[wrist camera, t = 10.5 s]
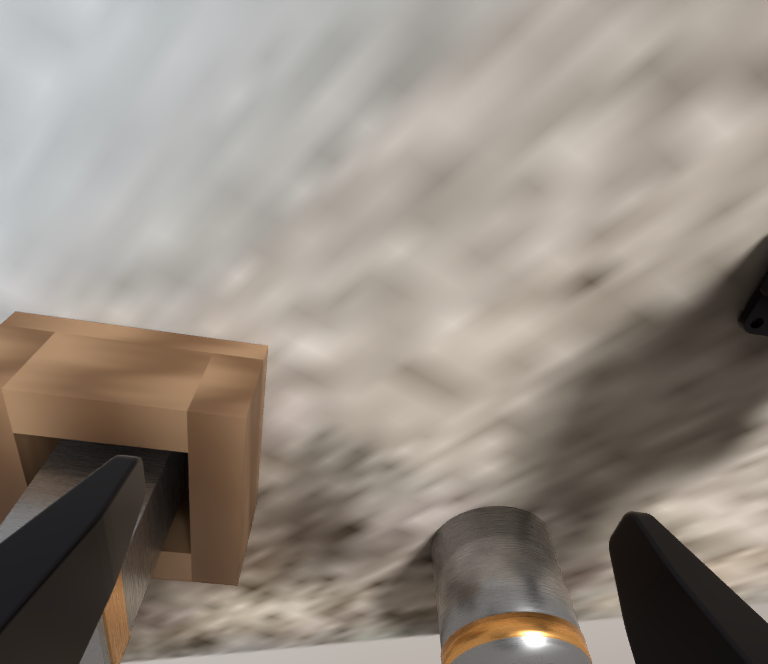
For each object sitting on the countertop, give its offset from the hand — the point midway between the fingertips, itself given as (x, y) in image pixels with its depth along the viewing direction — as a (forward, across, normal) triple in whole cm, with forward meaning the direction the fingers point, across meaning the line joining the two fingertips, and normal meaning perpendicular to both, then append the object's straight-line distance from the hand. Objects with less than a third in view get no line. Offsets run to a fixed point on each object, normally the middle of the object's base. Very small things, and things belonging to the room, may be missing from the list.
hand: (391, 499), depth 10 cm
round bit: (+12, -9, +17) cm, 23 cm away
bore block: (+12, +9, +10) cm, 18 cm away
